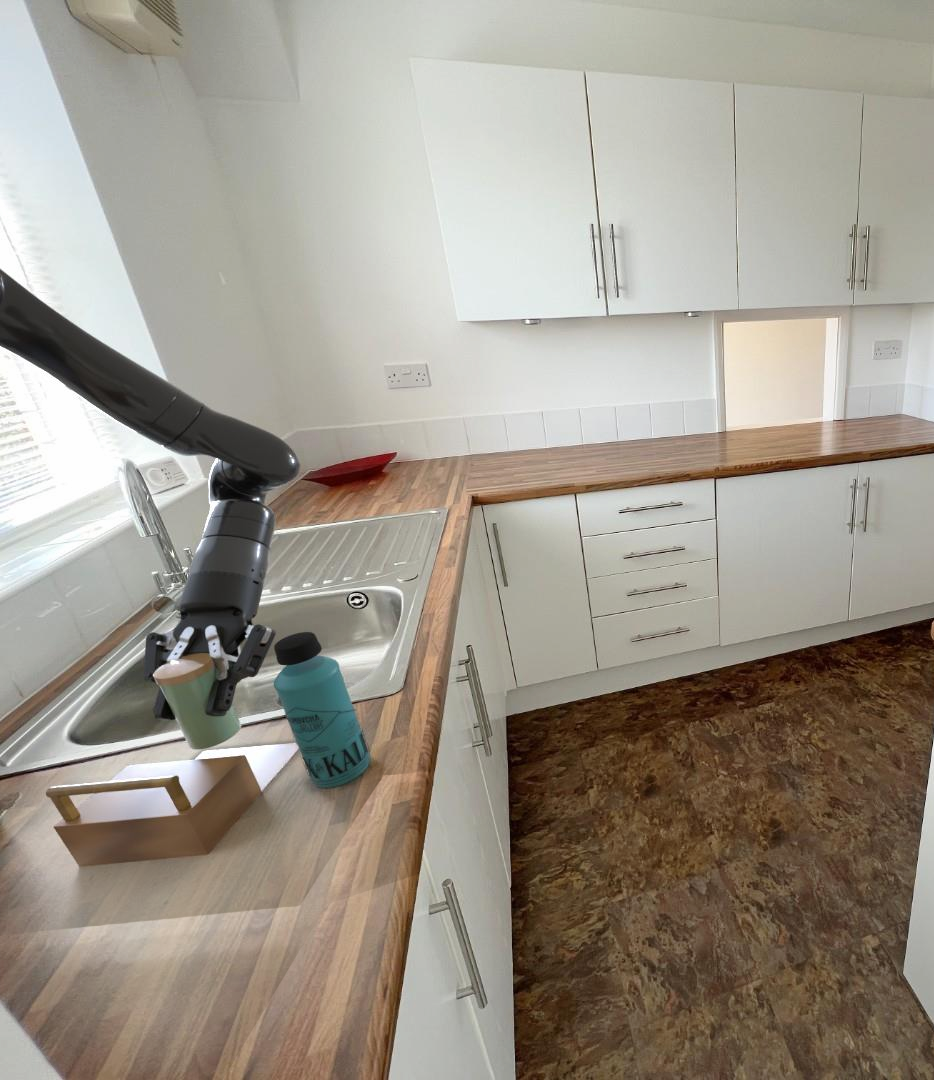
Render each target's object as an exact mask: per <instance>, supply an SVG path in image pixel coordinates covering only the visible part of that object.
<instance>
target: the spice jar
mask: <svg viewBox="0 0 934 1080" xmlns="http://www.w3.org/2000/svg"><path fill="white" fill-rule="evenodd" d="M214 665H215V664H214V662H213V659H212V656H210V654H208V653H197V654H191V655H187V656H184V657H181V658H179V659H175V660H173V661H170V662H168V663H166V664H164V665H163V666H161V667H159V666H158V669H157V670H156V671H155V672H154V674H153V677H154V679H155V681H156V683H155V684H156V685H158V687H159V686H160V688H161V690H162V692H163V694H164V696H165V698H166V701H167V703H168V705H169V707H170V709H171V711H172V713H173V715H174V717H175V721H176V723H177V725H178V727H179V729H180V731H181V733H182V735H183V738H184V739H185V741H186V743H187V745H188V747H189V748H190V749H192V750H198V751H199V750H205V749H209V748H213V747H215V746H218V745H220V744H224V742H227V741H229V740H230V739H231V738H233V737H234V736H236V735H237V734H238V732H239V731H240V730H241V728H242V724H241V721H240V719H239V716H238V714H237V712H236V710H235V708H234V705H233V704H232V706H231V708H230V709H229V711H227V713H226V715H224V716H218V717H216V716H209V715H206V707H207V703H208V700H209V696H210V692H211V688H212V684H213V682H218V680H217V679H216V674H215V667H214Z"/></svg>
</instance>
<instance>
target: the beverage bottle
mask: <svg viewBox="0 0 934 1080" xmlns="http://www.w3.org/2000/svg"><path fill="white" fill-rule="evenodd" d="M273 649H274V653H275V657H276V662H277V663H278V665H280V666H284V667H283V668H282V669H281V670H280V672H279V673H278V674H277V676H276V677H275V679H274V681H273V687H274V690H275V691H276V693H277V696H278V698H279V701H280V703H281V706H282V708H283V710H284V711H283V712H284V714H283V716H284V717H285V719H286V722H287V723H288V726H289V727H290V728H289V727H288V728H289V730H290V731H291V735H292V736H293V738H294V743H297V744H296V745H298V747H299V750H298V751H299V753H300V755H299V756H300V757H299V758H301V759H302V760H301V762H302V764H303V766H304V769H305V772H306V774H307V775H308V776H309V778H310V781H311V783H312V784H314V785H315V786H316V787H318V788H320V789H321V788H322V789H331V788H337V787H340V786H343V785H345V784H348V783H349V782H351V781H353V780H355V779H357V778H358V777H360V775H361V774H363V773H364V771H366V769H368V767H369V764H370V760H371V757H372V756H371V755H372V754H371V751H370V748H369V747H370V746H369V744H368V743H367V739H366V736H365V733H364V730H363V728H362V727H361V726H362V724H360V722H359V718H358V715H357V713H356V710H357V708H354V706H353V703H352V700H351V697H350V694H349V692H348V689H347V686H346V683H345V680H344V677H343V674H342V672H341V669H340V668H341V667H340V664H339V663H340V662H338V661H337V660H336V659H334V658H332V657H328V656H324V655H319V654H320V653H321V652H322V649H323V648H322V645H321V643H320V641H319V639H318V637H317V636H316V634H315V632H312V631H303V632H296V633H293V634H290V635H287V636H285V637H283V638H281V639H279V640H278V641H276V643H275V644H274V646H273Z"/></svg>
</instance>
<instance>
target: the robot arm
mask: <svg viewBox="0 0 934 1080" xmlns="http://www.w3.org/2000/svg"><path fill="white" fill-rule="evenodd" d="M0 348H1V349H3V350H6V351H7V352H10V354H13V355H15V356H17V357H18V358H20V359H22V360H23V361H26V362H27V363H29V364H31V365H32V366H34V367H36V368H37V369H38V370H40V371H42V372H44V373H45V374H47V375H48V376H49V377H51V378H53V379H54V380H56V381H57V382H59V383H60V384H61V385H63V386H64V387H66V388H67V389H68V390H70V391H71V392H73V393H74V394H75V395H77V396H78V397H80V399H82V400H84V401H85V402H87V403H88V404H89V405H91V406H92V407H93V408H95V409H96V410H98V411H99V412H100V413H102V414H104V415H106V416H107V417H109V418H110V419H112V420H114V422H116V423H119V424H121V425H122V426H124V427H126V428H127V429H129V430H131V431H132V432H134V433H137V434H139V435H140V436H141V437H144V438H146V439H148V440H150V441H151V442H154V443H155V444H156V445H157V444H158V445H159V446H161V447H163V448H164V449H167V450H169V451H171V452H172V453H174V454H177V455H181V456H185V457H195V456H207V457H211V458H214V459H215V461H214V463H213V464H212V466H211V470H210V473H209V478H208V503H209V514H208V516H207V518H206V522H205V525H204V528H203V532H202V535H201V536H202V537H201V540H200V542H199V544H198V547H197V548H196V551H195V553H194V554H193V558H192V560H191V563H190V567H189V570H188V573H187V577H186V580H185V584H184V587H183V590H182V594H181V597H180V600H179V604H178V611H179V614H180V620H179V621H178V623H177V624H176V625H175V626H174V628H173V630H171V631H166V632H163V633H158V632H155V631H152V632H149V633H148V634H147V635H146V637H145V646H144V647H145V648H144V662H143V663H144V664H143V680H144V681H146V682H152V683H155V684H157V683H156V681H155V679H154V677H153V674H154V672H155V671H156V670H157V669H158V668H159V667H161V666H163V665H164V664H166V663H168V662H170V661H173V660H175V659H179V658H181V657H184V656H187V655H191V654H197V653H208V654H210V656H212V659H213V662H214V664H215V665H214V667H215V674H216V679H217V680H218V682H213V684H212V688H211V692H210V696H209V700H208V703H207V707H206V715H209V716H216V717H218V716H224V715H226V713H227V711H229V709H230V708H231V706H232V705H233V701H234V698H235V694H236V693H235V692H236V689H237V685H238V684H239V683H240V682H241V681H242V680H243V679H247V678H255V677H257V676H258V674H259V672H260V670H261V668H262V667H261V666H262V665H263V663H264V661H265V659H266V656H267V654H268V652H269V650H270V648H271V645H272V644H273V642H274V639H275V637H276V634H277V631H276V630H275V629H273V628H271V627H268V626H266V625H262V624H256V625H254V624H253V619H254V618H255V617H256V616H257V615H258V610H259V606H260V603H261V599H262V594H263V590H264V585H265V582H266V578H267V573H268V568H269V557H270V550H271V546H272V543H273V539H274V535H275V528H276V525H277V517H276V514H275V512H274V511H273V509H271V508H270V507H269V506H268V505H266V498H267V496H268V493H269V492H271V491H274V490H276V489H278V488H281V487H284V486H286V485H288V484H290V483H291V482H293V481H294V480H296V478H297V477H298V476H299V474H300V471H301V462H300V457H299V455H298V454H297V452H296V450H294V448H293V447H292V446H291V445H290V444H289V443H287V441H285V440H284V439H282V438H281V437H280V436H278V435H276V434H274V433H272V432H270V431H268V430H266V429H263V428H261V427H259V426H256V425H253V424H251V423H249V422H246V421H243V420H241V419H238V418H237V417H233V416H231V415H228V414H225V413H223V412H219V411H217V410H214V409H213V408H211V407H210V406H208V405H207V404H205V403H204V402H202V401H201V400H199V399H197V398H196V397H194V396H192V395H191V394H189V393H188V392H186V391H184V390H182V389H181V388H179V387H177V386H175V385H174V384H172V383H171V382H169V381H168V380H166V379H164V378H162V377H161V376H159V375H158V374H156V373H155V372H152V371H151V370H149V369H147V368H146V367H144V366H142V365H141V364H139V363H137V362H136V361H134V360H132V359H131V358H129V357H127V356H125V355H124V354H123V353H121V352H119V351H117V350H116V349H114V348H112V347H111V346H109V345H108V344H106V343H105V342H102V341H101V340H100V339H99V338H97V337H95V336H94V335H92V334H91V333H89V332H87V331H86V330H84V329H83V328H81V327H80V326H78V325H77V324H75V323H74V322H73V321H71V320H69V319H68V317H67V318H66V317H65V316H64V315H62V314H61V313H60V312H58V311H57V310H55V309H54V308H52V307H51V306H49V305H48V304H47V303H45V302H44V301H43V300H42V299H40V298H39V297H37V296H36V295H35V294H34V293H33V292H31V291H30V290H28V288H26V287H24V286H23V285H21V283H19V282H18V281H17V280H15V279H14V278H13V277H12V276H10V275H9V274H8V273H7V272H5V271H4V269H3V270H2V268H0ZM243 643H244V645H243V647H242V648H241V645H242V644H243ZM158 687H159V689H158V692H157V695H156V698H155V701H154V702H155V703H154V706H153V709H152V711H153V712H152V713H153V715H154V718H155V720H160V721H176V719H175V717H174V715H173V713H172V711H171V709H170V707H169V705H168V703H167V701H166V698H165V696H164V694H163V692H162V690H161V688H160V686H159V685H158Z"/></svg>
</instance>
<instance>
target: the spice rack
mask: <svg viewBox="0 0 934 1080" xmlns="http://www.w3.org/2000/svg"><path fill="white" fill-rule="evenodd" d="M296 744H297V742H289V743H278V744H266V745H255V746H245V747H244V746H242V747H232V748H231V747H230V748H221V749H210V750H203V751H202V752H201V753H200V754H199V755H198V756H197V757H196V758H194V759H184V760H173V761H172V760H171V761H162V762H161V761H160V762H151V763H138V764H129V765H127V766H125V767H124V768H123V769H121V770H120V771H119V772H118V773H117V774H115V775H114V776H113V777H112V778H111V779H109V780H108V781H99V782H88V783H87V782H86V783H75V784H66V785H65V784H64V785H55V786H50V787H48V788H47V789H46V791H45V796H46V797H47V798H49V799H50V800H51V802H52V803H53V805H54V806H55V808H56V810H57V811H58V813H59V814H60V816H61V817H62V819H61V820H59V821H58V822H57V823H56V824H55V825H54V826H53V829H54V830H55V832H56V833H57V835H58V837H59V838H60V840H61V841H62V843H63V844H64V846H65V847H66V849H67V850H68V852H69V854H70V855H71V857H72V858H73V859H74V861H75V863H76V864H77V866H78V867H79V868H82V867H91V866H93V867H94V866H101V865H112V864H123V863H124V864H125V863H134V862H145V861H156V860H166V859H176V858H187V857H196V856H207V855H209V854H210V853H211V852H212V850H213V849H214V848H215V847H216V846H217V845H218V844H219V842H221V840H223V838H224V837H225V836H226V835H227V833H228V832H229V831H230V830H231V829H232V828H233V826H235V824H236V823H237V822H238V821H239V820H240V819H241V817H242V816H243V815H244V814H245V813H246V812H247V810H248V809H249V808H250V807H251V806H252V805H253V804H254V802H255V801H256V800H257V799H258V798H259V796H260V795H261V794H262V793H263V791H265V790H266V788H267V787H268V786H269V785H270V784H271V782H272V781H273V780H274V779H275V778H276V777H277V775H278V774H280V772H281V771H282V770H283V769H284V768H285V766H286V765H287V764H288V763H289V762H290V761H291V760H292V758H293V757H294V756H295V755H296V754H297V753H298V752H299V751H300V750H299V747H298V745H296ZM81 795H90V796H89V797H88V798H86V799H85V800H84V801H82V802H81V803H80V804H79V805H77V807H76V805H75V804H74V802H73V800H72V798H71V797H72V796H81ZM70 796H71V797H70Z"/></svg>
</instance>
